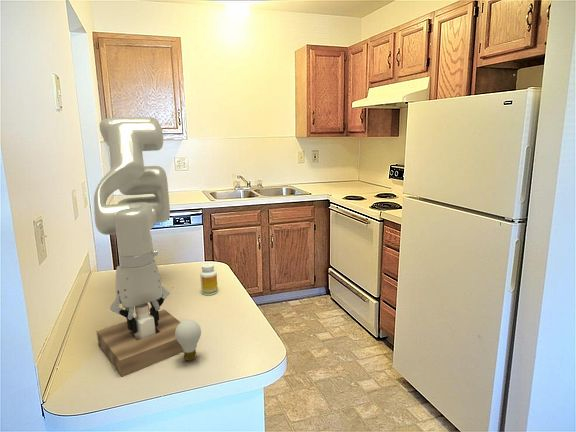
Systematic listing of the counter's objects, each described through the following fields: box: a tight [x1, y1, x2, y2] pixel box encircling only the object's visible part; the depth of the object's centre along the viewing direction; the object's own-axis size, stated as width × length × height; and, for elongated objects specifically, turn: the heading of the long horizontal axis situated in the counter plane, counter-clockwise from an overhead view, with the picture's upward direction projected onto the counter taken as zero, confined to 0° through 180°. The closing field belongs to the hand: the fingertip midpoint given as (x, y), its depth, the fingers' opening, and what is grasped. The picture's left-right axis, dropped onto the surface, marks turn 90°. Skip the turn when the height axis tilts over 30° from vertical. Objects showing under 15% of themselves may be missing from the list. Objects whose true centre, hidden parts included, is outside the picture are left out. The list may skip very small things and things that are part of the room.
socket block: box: [96, 309, 184, 377], centre depth 98 cm, size 18×18×4 cm
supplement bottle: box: [199, 263, 219, 296], centre depth 130 cm, size 5×5×10 cm
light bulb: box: [175, 319, 202, 361], centre depth 91 cm, size 6×6×10 cm
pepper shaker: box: [134, 303, 156, 340], centre depth 98 cm, size 4×4×10 cm
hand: (144, 327), depth 98 cm, fingers open, 4 cm apart
